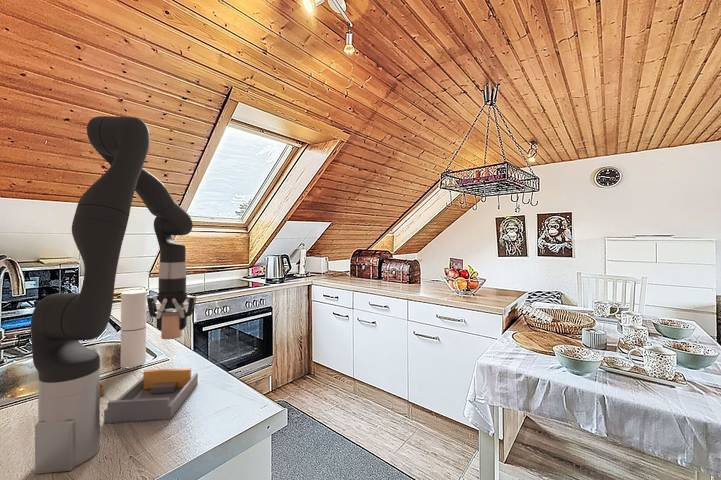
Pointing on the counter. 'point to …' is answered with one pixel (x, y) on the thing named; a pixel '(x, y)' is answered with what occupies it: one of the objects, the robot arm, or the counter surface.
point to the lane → (147, 403)
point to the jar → (170, 324)
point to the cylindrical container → (133, 328)
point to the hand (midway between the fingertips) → (171, 329)
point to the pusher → (165, 379)
